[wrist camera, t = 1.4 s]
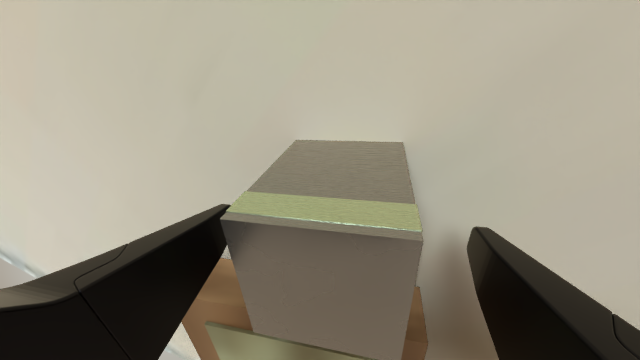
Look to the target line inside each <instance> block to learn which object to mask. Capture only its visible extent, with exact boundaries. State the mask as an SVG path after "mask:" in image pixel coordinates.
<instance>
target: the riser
mask: <svg viewBox="0 0 640 360" xmlns="http://www.w3.org/2000/svg"><path fill="white" fill-rule="evenodd" d="M181 322H182V324H183V326H184V328H185V330H186V331H187V333H188V335H189V337H190V339H191V341H192V343H193V345H194V347H195V349H196V351H197V353H198V355H199V357H200V358H201V360H378V359H373V358H368V357H364V356H359V355H355V354H350V353H346V352H341V351H336V350H332V349H327V348H323V347H318V346H314V345H309V344H304V343H300V342H295V341H291V340H286V339H282V338H277V337H272V336H268V335H263V334H259V333H254V332H253V328H252V325H251V322H250V318H249V315H248V312H247V308H246V305H245V302H244V298H243V295H242V292H241V288H240V285H239V282H238V278H237V275H236V272H235V268H234V265H233V262H232V260H230V259H223V258H220V259H219V261H218V263H217V264H216V266H215V268H214V269H213V271H212V273H211V274H210V276H209V277H208V279H207V281H206V282H205V284H204V286H203V287H202V289H201V290H200V292H199V294H198V295H197V297H196V299H195V300H194V302H193V303H192V305H191V307H190V308H189V310H188V312H187V313H186V315H185V316H184V318H183V320H182V321H181ZM427 346H428V340H427V334H426V327H425V320H424V314H423V307H422V301H421V294H420V288H419V287H414V293H413V298H412V303H411V309H410V314H409V319H408V325H407V330H406V336H405V341H404V346H403V352H402V357H401V360H424V357H425V354H426V350H427Z"/></svg>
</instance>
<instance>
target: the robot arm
mask: <svg viewBox="0 0 640 360" xmlns="http://www.w3.org/2000/svg"><path fill="white" fill-rule="evenodd" d="M230 206H231V205H228V204H221V205H218V206H216V207H213V208H211V209H209V210H206V211H204V212H201V213H199V214H197V215H194V216H192V217H190V218H187V219H185V220H182V221H180V222H178V223H175V224H173V225H171V226H168V227H166V228H163V229H161V230H159V231H156V232H154V233H151V234H149V235H147V236H144V237H142V238H140V239H137V240H135V241H132V242H130V243H129V244H125V245H123V246H120V247H118V248H116V249H113V250H111V251H108V252H106V253H103V254H101V255H98V256H96V257H93V258H91V259H88V260H85V261H83V262H80V263H78V264H75V265H72V266H70V267H67V268H64V269H62V270H59V271H56V272H54V273H51V274H48V275H46V276H43V277H40V278H38V279H35V280H32V281H30V282H26V283H23V284H20V285H16V286H13V287H8V288H3V289H0V360H158V359H159V357H160V355H161V354H162V352H163V351H164V349H165V347H166V346H167V344H168V342H169V341H170V339H171V338H172V336H173V334H174V333H175V331H176V329H177V328H178V326H179V325H180V323H181V321H182V320H183V318H184V316H185V315H186V313H187V312H188V310H189V308H190V307H191V305H192V303H193V302H194V300H195V299H196V297H197V295H198V294H199V292H200V290H201V289H202V287H203V286H204V284H205V282H206V281H207V279H208V277H209V276H210V274H211V273H212V271H213V269H214V268H215V266H216V264H217V263H218V261H219V259H220V258H221V256H222V254H223V252H224V250H225V248H226V246H227V242H226V239H225V235H224V232H223V229H222V225H221V222H220V218H221V217H222V216H223V215H224V214H225V213H226V210H227V209H228V208H229V207H230ZM467 253H468V258H469V263H470V267H471V272H472V276H473V281H474V285H475V290H476V294H477V297H478V300H479V303H480V306H481V309H482V312H483V315H484V318H485V320H486V323H487V326H488V329H489V332H490V335H491V338H492V341H493V343H494V346H495V349H496V352H497V355H498V358H499V360H640V331H639V330H638V329H636V328H635V327H633V326H632V325H631V324H629V323H628V322H626V321H625V320H623V319H622V318H620V317H619V316H617V315H616V314H612V312H611V311H610V310H608V309H607V308H605V307H604V306H603V305H601V304H600V303H598V302H597V301H595V300H594V299H592V298H591V297H589V296H588V295H586V294H585V293H583V292H582V291H580V290H579V289H578V288H576V287H575V286H573V285H572V284H570V283H569V282H567V281H566V280H564V279H563V278H561V277H560V276H558V275H557V274H556V273H554V272H553V271H551V270H550V269H548V268H547V267H545V266H544V265H542V264H541V263H539V262H538V261H536V260H535V259H533V258H532V257H531V256H529V255H528V254H526V253H525V252H523V251H522V250H520V249H519V248H517V247H516V246H514V245H513V244H511V243H510V242H508V241H507V240H506V239H504V238H503V237H501V236H500V235H498V234H497V233H495V232H494V231H492V230H491V229H489V228H487V227H474V228H473V229H472V231H471V234H470V238H469V241H468V245H467Z"/></svg>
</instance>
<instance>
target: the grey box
mask: <svg viewBox="0 0 640 360" xmlns="http://www.w3.org/2000/svg"><path fill="white" fill-rule="evenodd" d="M220 222H221V225H222V229H223V232H224V235H225V239H226V242H227V245H228V249H229V252H230V255H231V258H232V262H233V265H234V268H235V272H236V275H237V278H238V282H239V285H240V288H241V292H242V295H243V298H244V302H245V305H246V308H247V312H248V315H249V318H250V322H251V325H252V328H253V332H254V333H259V334H263V335H268V336H272V337H277V338H282V339H286V340H291V341H295V342H300V343H304V344H309V345H314V346H318V347H323V348H327V349H332V350H336V351H341V352H346V353H350V354H355V355H359V356H364V357H368V358H373V359H378V360H401V357H402V352H403V346H404V341H405V336H406V330H407V325H408V319H409V314H410V309H411V303H412V298H413V293H414V287H415V282H416V277H417V271H418V266H419V261H420V255H421V250H422V245H423V238H422V227H421V222H420V217H419V213H418V208H417V204H415V199H414V194H413V189H412V185H411V180H410V175H409V170H408V165H407V160H406V156H405V151H404V146H403V142H363V141H318V140H296V141H295V142H294V143H293V144H292V145H291V146H290V147H289V148H288V149H287V150H286V151H285V152H284V153H283V154H282V155H281V156H280V157H279V158H278V159H277V160H276V161H275V162H274V163H273V164H272V166H271V167H270V168H269V169H268V170H267V171H266V172H265V173H264V174H263V175H262V176H261V177H260V178H259V179H258V180H257V181H256V182H255V183H254V184H253V185H252V186H251V187H250V188H249V189H248V190H247V191H245V192H244V193H243V194H242V195H241V196H240V197H239V198H238V199H237V200H236V201H235V202H234V203H233V204H232V205H231V206H230V207H229V208H228V209H227V210H226V213H225V214H224V215H223V216H222V217H221V218H220Z"/></svg>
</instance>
